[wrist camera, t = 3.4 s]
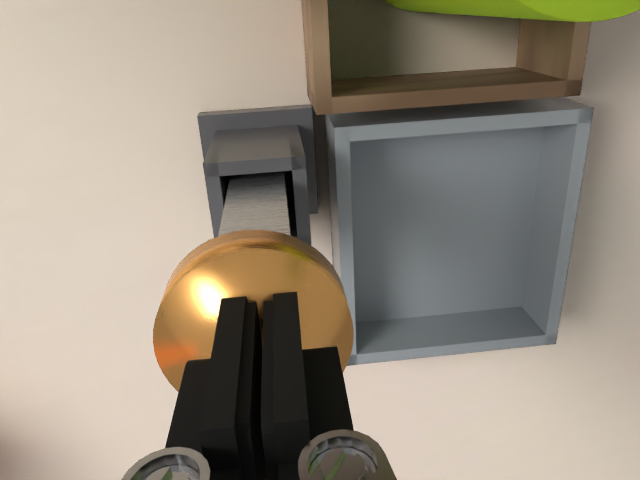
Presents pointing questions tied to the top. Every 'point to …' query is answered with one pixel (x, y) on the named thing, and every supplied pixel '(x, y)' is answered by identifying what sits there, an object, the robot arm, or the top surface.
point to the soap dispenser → (526, 8)
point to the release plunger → (250, 279)
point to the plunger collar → (262, 157)
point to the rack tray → (455, 223)
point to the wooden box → (450, 87)
